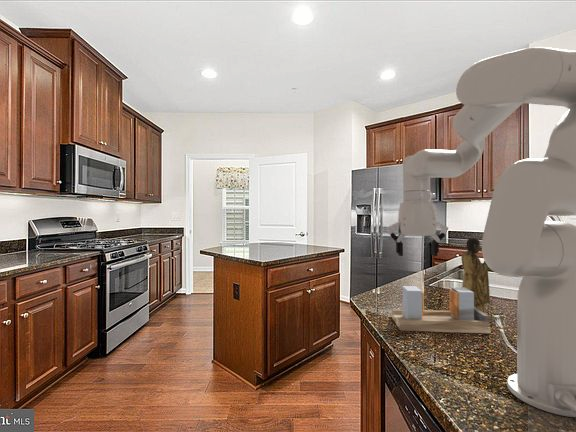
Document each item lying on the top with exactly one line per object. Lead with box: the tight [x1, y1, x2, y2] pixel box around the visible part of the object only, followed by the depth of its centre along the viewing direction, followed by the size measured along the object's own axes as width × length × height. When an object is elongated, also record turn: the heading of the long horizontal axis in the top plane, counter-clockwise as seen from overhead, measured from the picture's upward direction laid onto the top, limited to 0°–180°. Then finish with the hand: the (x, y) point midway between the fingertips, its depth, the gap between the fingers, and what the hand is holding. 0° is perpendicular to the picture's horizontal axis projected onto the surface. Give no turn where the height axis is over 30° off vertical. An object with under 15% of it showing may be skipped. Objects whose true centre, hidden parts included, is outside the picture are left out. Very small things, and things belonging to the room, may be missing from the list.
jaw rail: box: [391, 286, 492, 334], centre depth 95 cm, size 12×24×10 cm, turn 83°
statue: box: [460, 236, 491, 315], centre depth 106 cm, size 9×9×25 cm
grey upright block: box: [402, 285, 425, 319], centre depth 96 cm, size 6×5×9 cm
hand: (417, 255), depth 95 cm, fingers open, 9 cm apart
